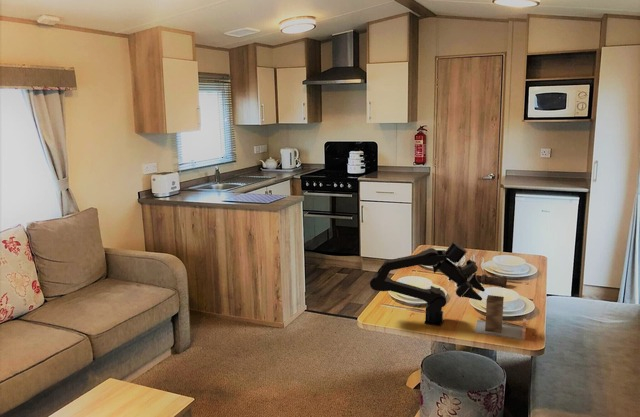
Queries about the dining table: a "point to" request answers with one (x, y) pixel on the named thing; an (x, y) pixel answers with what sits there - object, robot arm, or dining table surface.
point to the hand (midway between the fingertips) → (483, 295)
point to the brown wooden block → (494, 313)
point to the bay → (503, 330)
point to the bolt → (492, 280)
